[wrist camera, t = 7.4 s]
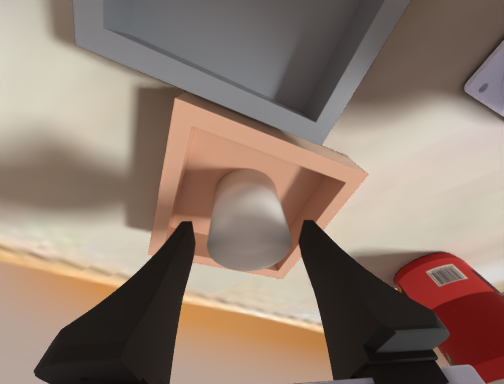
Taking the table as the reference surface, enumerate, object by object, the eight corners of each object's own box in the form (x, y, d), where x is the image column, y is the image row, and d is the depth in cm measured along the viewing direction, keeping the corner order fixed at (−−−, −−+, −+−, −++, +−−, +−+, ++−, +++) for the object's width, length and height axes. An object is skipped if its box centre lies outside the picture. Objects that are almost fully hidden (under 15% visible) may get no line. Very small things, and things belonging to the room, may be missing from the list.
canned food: (379, 282, 26) (458, 404, 17) (431, 244, 22) (571, 375, 13) (418, 291, 28) (506, 403, 19) (471, 258, 24) (616, 379, 15)
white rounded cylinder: (280, 168, 14) (298, 213, 10) (273, 218, 17) (286, 269, 13) (211, 169, 14) (201, 216, 10) (216, 220, 17) (211, 273, 13)
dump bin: (346, 155, 15) (368, 174, 12) (277, 253, 21) (282, 279, 18) (188, 90, 12) (174, 98, 9) (160, 227, 18) (147, 254, 15)
